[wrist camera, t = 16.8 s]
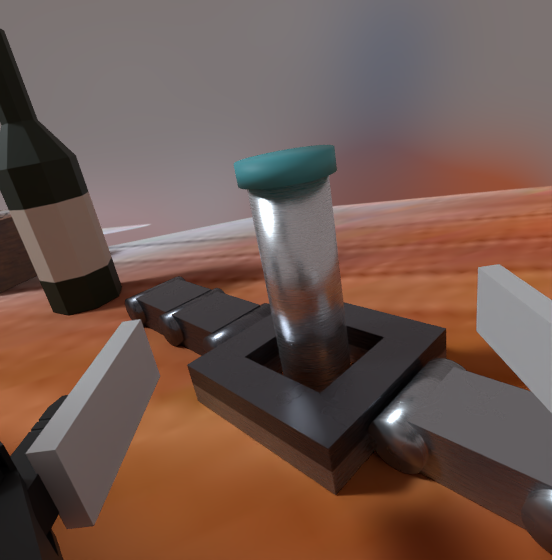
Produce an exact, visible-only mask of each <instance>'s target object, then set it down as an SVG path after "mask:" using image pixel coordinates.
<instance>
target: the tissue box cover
mask: <svg viewBox="0 0 552 560" xmlns="http://www.w3.org/2000/svg"><path fill="white" fill-rule="evenodd" d="M35 276H37V273H36V271H35V269H34V266H33V264H32V262H31V260H30V257H29V255H28V253H27V250H26V248H25V246H24V244H23V241H22V239H21V237H20V234H19V232H18V230H17V228H16V225H15V223H14V221H13V218H12V216H11V214H10V211H9V210H0V293H1V292H3V291H5V290H7V289H9V288H12V287H14V286H16V285H18V284H20V283H22V282H24V281H27V280H29V279H31V278H33V277H35Z"/></svg>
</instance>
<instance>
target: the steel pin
mask: <svg viewBox="0 0 552 560" xmlns="http://www.w3.org/2000/svg"><path fill="white" fill-rule="evenodd" d="M234 169H235V174H236V178H237V183H238V187H239V188H241V189H247V191H248V196H249V201H250V206H251V211H252V216H253V221H254V227H255V232H256V237H257V242H258V247H259V252H260V257H261V262H262V267H263V272H264V278H265V283H266V288H267V293H268V298H269V303H270V308H271V313H272V318H273V323H274V328H275V334H276V339H277V344H278V349H279V354H280V359H281V364H282V369H283V374H284V376H285V377H287V378H290V379H292V380H294V381H296V382H298V383H300V384H302V385H304V386H306V387H308V388H311V389H313V390H315V391H317V392H319V393H321V392H322V391H323V390H324V389H326V388H327V387H328V386H329V385H330V384H331V383H333V382H334V381H335V380H336V379H337V378H338V377H339V376H341V375H342V374H343V373H344V372H345V371H346V370H347V369H349V368H350V367H351V362H350V354H349V345H348V336H347V328H346V319H345V311H344V302H343V293H342V285H341V276H340V268H339V259H338V250H337V242H336V233H335V224H334V216H333V207H332V199H331V190H330V182H329V175H331V174H333V173H334V172H336V170H337V167H336V158H335V149H334V146H333V145H316V146H307V147H300V148H293V149H287V150H281V151H276V152H271V153H266V154H261V155H257V156H253V157H249V158H246V159H242V160H240V161H237V162H235V163H234Z"/></svg>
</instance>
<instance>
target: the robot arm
mask: <svg viewBox="0 0 552 560" xmlns="http://www.w3.org/2000/svg"><path fill="white" fill-rule="evenodd" d="M476 331H477V332H478V333H479V334H480V335H481V336H482V337H483V339H484V340H485V341H486V342H487V343H488V344H489V345H490V346H491V347H492V348H493V350H494V351H495V352H496V353H497V354H498V355H499V356H500V357H501V358H502V359H503V360H504V362H505V363H506V364H507V365H508V366H509V367H510V368H511V369H512V370H513V371H514V373H515V374H516V375H517V376H518V377H519V378H520V379H521V380H522V381H523V382H524V384H525V385H526V386H527V387H528V388H529V389H530V390H531V391H532V392H533V393H534V395H535V396H536V397H537V398H538V399H539V400H540V401H541V402H542V403H543V404H544V405H545V407H546V408H547V409H548V410H549V411H550V412H551V413H552V300H550V299H549V298H548V297H546V296H545V295H543V294H542V293H540V292H539V291H537V290H536V289H534V288H533V287H531V286H530V285H529V284H527V283H526V282H524V281H523V280H521V279H520V278H518V277H517V276H515V275H514V274H513V273H511V272H510V271H508V270H507V269H505V268H504V267H502V266H501V265H499V264H498V265H491V266H485V267H478V293H477V329H476ZM159 378H160V374H159V371H158V368H157V365H156V362H155V359H154V356H153V353H152V351H151V348H150V345H149V342H148V339H147V336H146V333H145V330H144V327H143V324H142V321H141V319H139V320H132V321H126V322H122V323H121V324H120V326H119V327H118V329H117V330H116V331H115V333H114V334H113V335H112V337H111V338H110V339H109V341H108V342H107V343H106V345H105V346H104V348H103V349H102V350H101V352H100V353H99V354H98V356H97V357H96V358H95V360H94V361H93V363H92V364H91V365H90V367H89V368H88V369H87V371H86V372H85V373H84V375H83V376H82V377H81V379H80V380H79V382H78V383H77V384H76V386H75V387H74V388H73V390H72V391H71V392H70V394H69V395H65V396H62V397H60V398H59V399H58V400H57V401H56V402H54V403H53V404H52V405H51V406H49V407H48V408H47V410H46V411H45V412H44V414H43V415H42V416H41V417H40V419H39V422H37V423H36V424H35V425H34V426H33V428H32V429H31V432H29V433H28V434H27V436H26V437H25V438H24V439H23V441H22V442H21V443H20V445H19V446H18V447H17V448H16V450H15V451H14V452H13V454H12V455H11V456H9V454H8V452H7V450H6V449H5V447H4V445H3V444H2V443H1V442H0V560H63V557H62V554H61V551H60V548H59V545H58V542H57V539H56V536H55V534H54V532H53V531H52V529H51V528H52V526H53V524H54V522H55V520H56V518H57V516H58V515H59V516H60V517H61V519H62V521H63V523H64V525H65V527H66V528H67V529H72V528H81V527H89V526H94V525H95V522H96V520H97V518H98V516H99V513H100V511H101V509H102V507H103V504H104V502H105V500H106V497H107V495H108V493H109V491H110V488H111V486H112V484H113V482H114V479H115V477H116V475H117V473H118V470H119V468H120V466H121V464H122V461H123V459H124V457H125V454H126V452H127V450H128V448H129V445H130V443H131V441H132V439H133V436H134V434H135V432H136V430H137V427H138V425H139V423H140V421H141V418H142V416H143V414H144V411H145V409H146V407H147V405H148V402H149V400H150V398H151V396H152V393H153V391H154V389H155V387H156V384H157V382H158V380H159Z"/></svg>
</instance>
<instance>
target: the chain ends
mask: <svg viewBox="0 0 552 560" xmlns="http://www.w3.org/2000/svg"><path fill="white" fill-rule="evenodd" d="M125 306H126V310H127V312H128V314H129V316H130V318H131V319H132V320H139V319H141V321H142V324H144V325H145V326H147V327H149V328H151V329H153V330H155V331H157V332H159V333H160V334H162V335H164V337H165V338H166V339H167V341H168V342H169V343H170V344H171V345H173V346H177V345H179V344H181V345H183V346H185V347H186V348H188V349H190V350H192V351H194V352H196V353H198V354H200V355H201V357H199V358H198V359H196V360H195V361H193V362H191V363H190V364H188V365H187V366H188V370H189V373H190V376H191V379H192V383H193V386H194V389H195V392H196V396H197V399H198V401H199V402H201V403H202V404H204V405H205V406H206V407H208V408H209V409H211V410H212V411H214V412H215V413H217V414H218V415H220V416H221V417H223V418H224V419H225V420H227V421H228V422H230V423H231V424H233V425H234V426H236V427H237V428H239V429H240V430H241V431H243V432H244V433H246V434H247V435H249V436H250V437H252V438H253V439H255V440H256V441H258V442H259V443H260V444H262V445H263V446H265V447H266V448H268V449H269V450H271V451H272V452H274V453H275V454H276V455H278V456H279V457H281V458H282V459H284V460H285V461H287V462H288V463H290V464H291V465H293V466H294V467H295V468H297V469H298V470H300V471H301V472H303V473H304V474H306V475H307V476H309V477H310V478H311V479H313V480H314V481H316V482H317V483H319V484H320V485H322V486H323V487H325V488H326V489H328V490H329V491H330V492H332V493H333V494H335V495H336V494H337V493H338V492H339V491H340V490H341V488H342V487H343V486H344V485H345V484H346V483H347V481H348V480H349V479H350V478H351V477H352V476H353V475H354V473H355V472H356V471H357V470H358V469H359V468H360V466H361V465H362V464H363V463H364V462H365V461H366V460H367V458H368V457H369V456H370V455H371V454H372V453H373V451H374V450H375V451H376V452H377V453H378V455H379V456H380V457H381V458H382V459H383V460H384V461H385V462H386V463H388V464H389V465H390V466H392V467H393V468H395V469H397V470H399V471H401V472H403V473H407V474H416V473H418V472H419V473H421V474H423V475H425V476H427V477H429V478H431V479H433V480H434V481H436V482H438V483H440V484H442V485H444V486H446V487H447V488H449V489H451V490H453V491H455V492H457V493H459V494H460V495H462V496H464V497H466V498H468V499H470V500H472V501H474V502H475V503H477V504H479V505H481V506H483V507H485V508H487V509H488V510H490V511H492V512H494V513H496V514H498V515H500V516H501V517H503V518H505V519H507V520H509V521H511V522H513V523H515V524H516V525H518V526H520V527H522V528H524V529H526V530H527V531H528V533H529V534H530V535H531V536H532V538H533V539H534V540H535V541H536V542H537V543H538V544H539V545H540V546H541V547H542V548H544V549H545V550H546V551H547V552H549V553H550V554H551V555H552V413H551V412H550V411H549V410H548V409H547V408H546V407H545V405H544V404H543V403H542V402H541V401H540V400H539V399H538V398H537V397H536V396H535V395H534V393H533V392H531V391H528V390H524V389H521V388H518V387H515V386H512V385H509V384H506V383H503V382H499V381H496V380H493V379H490V378H487V377H484V376H481V375H477V374H474V373H471V372H468V371H466V370H465V369H464V368H463V367H462V366H461V365H459V364H457V363H456V362H454V361H451V360H449V359H446V328H442V327H438V326H434V325H430V324H426V323H422V322H419V321H415V320H411V319H407V318H403V317H399V316H395V315H391V314H387V313H383V312H379V311H375V310H372V309H368V308H364V307H360V306H356V305H352V304H348V303H344V311H345V319H346V328H347V336H348V345H349V354H350V361H351V362H353V363H354V364H353V365H352V366H351V367H350V368H349V369H347V370H346V371H345V372H344V373H343V374H342V375H341V376H339V377H338V378H337V379H336V380H335V381H334V382H333V383H331V384H330V385H329V386H328V387H327V388H326V389H324V390H323V391H322V392H321V393H319V392H317V391H315V390H313V389H311V388H308V387H306V386H304V385H302V384H300V383H298V382H296V381H294V380H292V379H290V378H287V377H285V376H283V375H281V374H279V373H281V372H282V371H283V369H282V364H281V359H280V354H279V349H278V344H277V339H276V334H275V328H274V323H273V318H272V313H271V308H270V304H267V303H264V304H262V305H258V304H255V303H252V302H249V301H246V300H243V299H240V298H236V297H233V296H230V295H227V294H225V293H224V292H223V291H222V290H221V289H219V288H215V289H213V290H211V289H208V288H205V287H202V286H199V285H196V284H193V283H189V282H186V281H185V280H184V279H183V278H182V277H180V276H178V277H175V278H173V279H171V280H168V281H166V282H164V283H162V284H159V285H157V286H155V287H153V288H150V289H148V290H146V291H144V292H141V293H139V294H137V295H135V296H132V297H130V298H128V299H126V300H125Z"/></svg>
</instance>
